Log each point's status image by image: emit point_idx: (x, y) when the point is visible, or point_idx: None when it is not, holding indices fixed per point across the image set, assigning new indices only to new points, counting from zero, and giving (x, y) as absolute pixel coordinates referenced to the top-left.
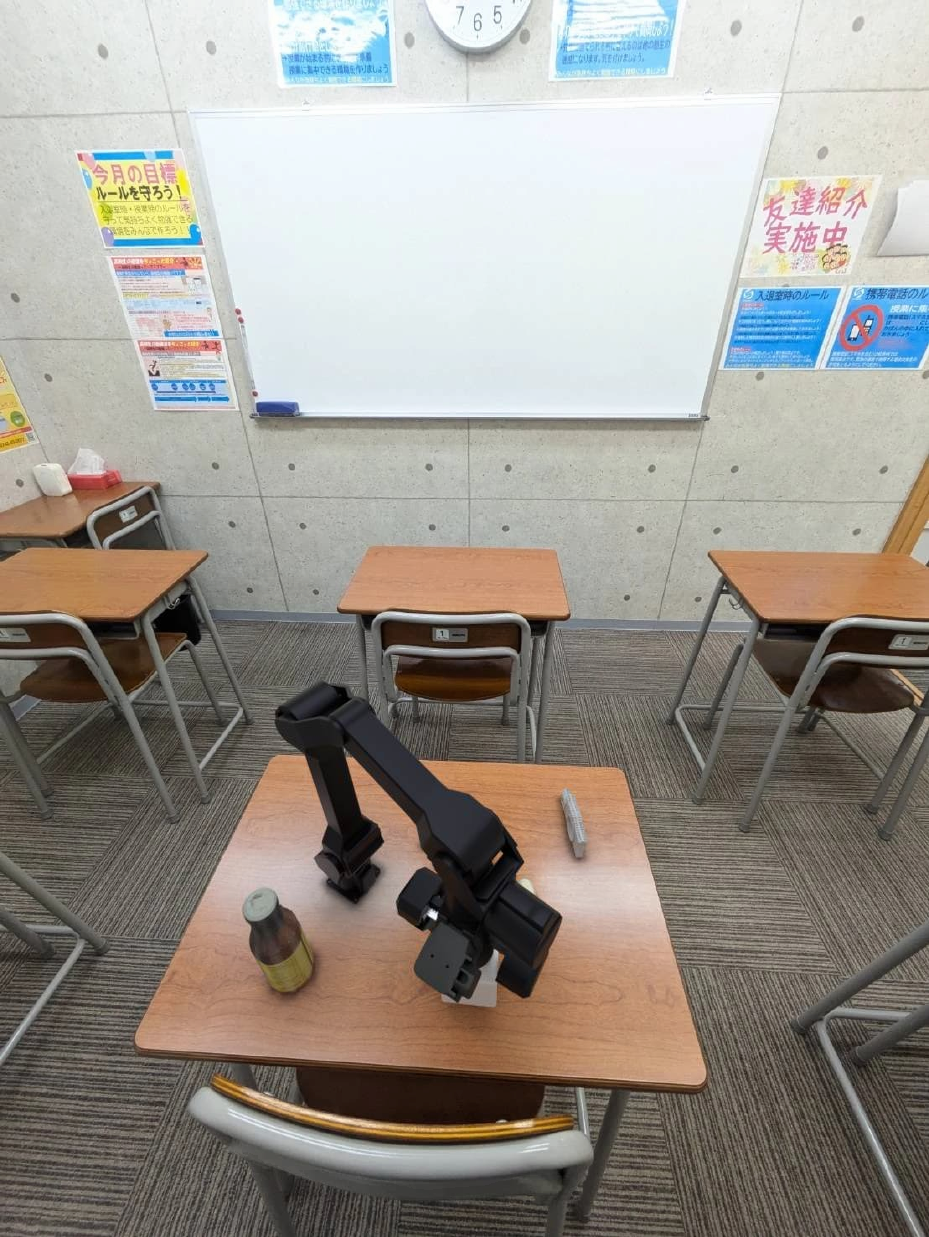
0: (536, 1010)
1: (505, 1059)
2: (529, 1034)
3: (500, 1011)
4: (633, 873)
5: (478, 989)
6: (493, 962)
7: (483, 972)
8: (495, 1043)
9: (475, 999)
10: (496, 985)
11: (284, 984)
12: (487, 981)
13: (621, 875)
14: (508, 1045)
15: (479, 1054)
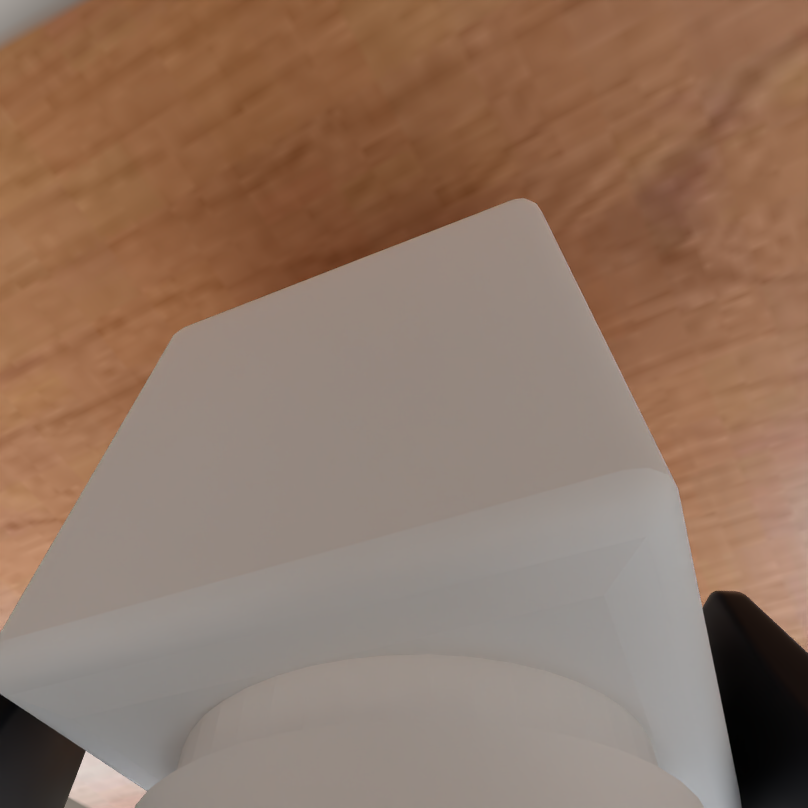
0: (61, 379)
1: (28, 101)
2: (14, 277)
3: (205, 299)
4: (83, 791)
5: (198, 483)
6: (143, 774)
7: (159, 714)
8: (131, 148)
9: (271, 339)
10: (3, 630)
11: None
12: (63, 669)
13: (109, 781)
14: (65, 177)
15: (174, 39)
